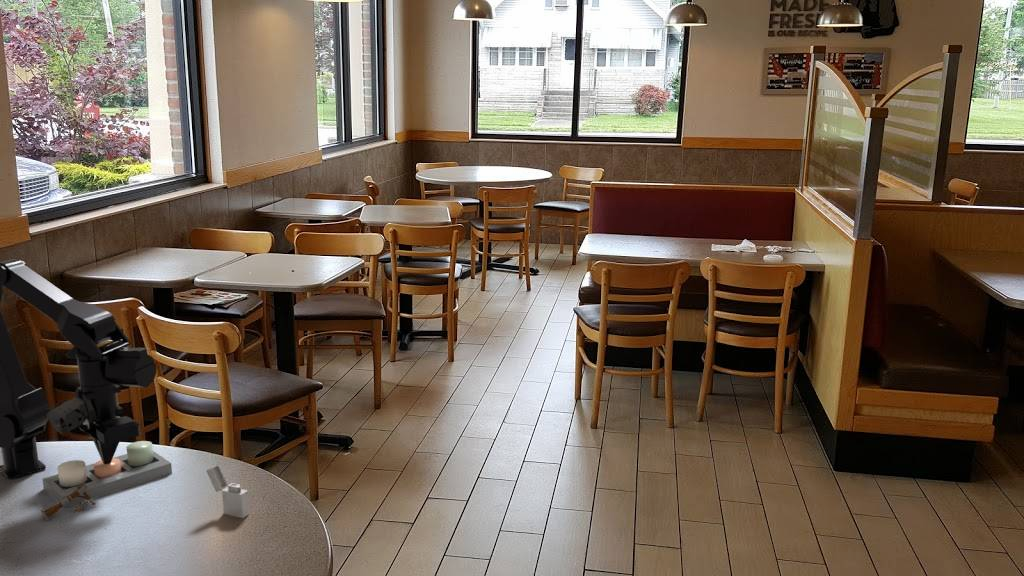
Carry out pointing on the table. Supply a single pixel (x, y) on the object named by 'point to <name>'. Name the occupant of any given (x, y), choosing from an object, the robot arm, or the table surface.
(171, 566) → the table surface
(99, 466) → the terracotta button
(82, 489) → the wooden post with brackets
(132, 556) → the table surface
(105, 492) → the button panel
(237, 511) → the lighter
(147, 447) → the sage button
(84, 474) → the cream button
